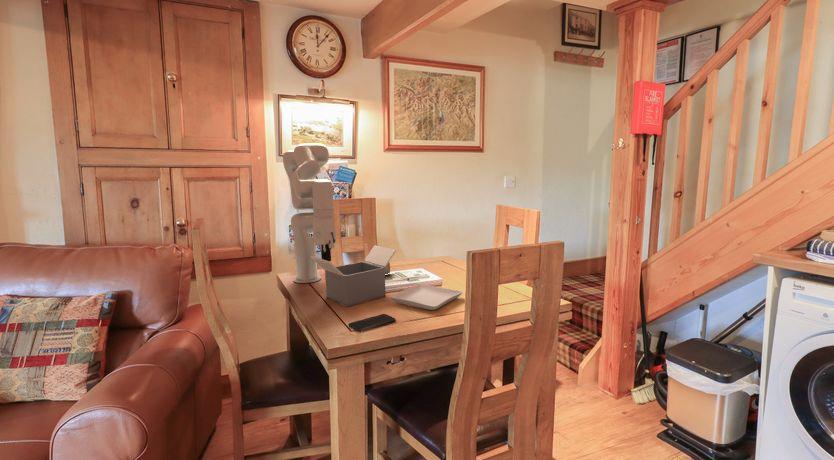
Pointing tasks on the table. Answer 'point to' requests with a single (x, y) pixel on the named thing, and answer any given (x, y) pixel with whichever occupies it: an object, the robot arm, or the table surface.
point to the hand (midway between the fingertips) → (326, 261)
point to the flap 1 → (326, 265)
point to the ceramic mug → (387, 268)
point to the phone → (372, 322)
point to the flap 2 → (380, 255)
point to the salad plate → (425, 296)
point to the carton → (356, 283)
